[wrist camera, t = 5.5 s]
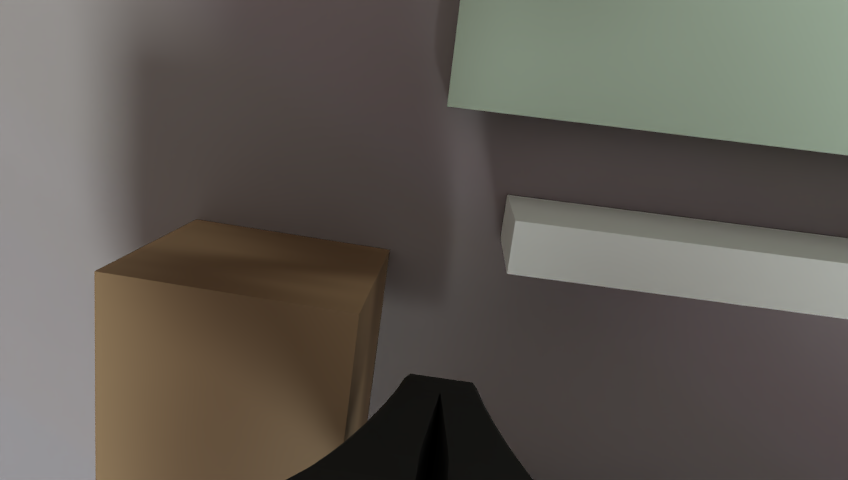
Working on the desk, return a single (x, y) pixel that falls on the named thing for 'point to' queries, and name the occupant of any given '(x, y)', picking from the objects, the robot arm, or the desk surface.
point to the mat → (662, 66)
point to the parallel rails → (676, 256)
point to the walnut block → (233, 353)
